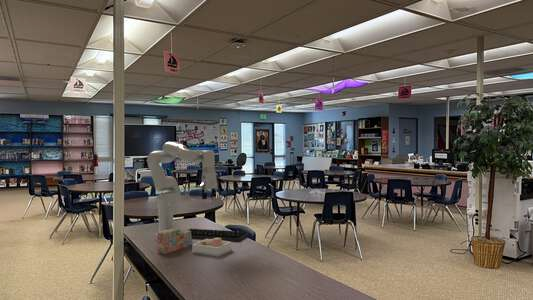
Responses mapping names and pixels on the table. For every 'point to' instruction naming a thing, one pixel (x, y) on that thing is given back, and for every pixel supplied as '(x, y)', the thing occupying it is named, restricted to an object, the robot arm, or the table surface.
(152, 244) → the table surface
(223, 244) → the tote
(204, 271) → the table surface
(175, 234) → the stack of blocks
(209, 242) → the cube
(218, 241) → the smooth tan pebble
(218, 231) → the computer keyboard
